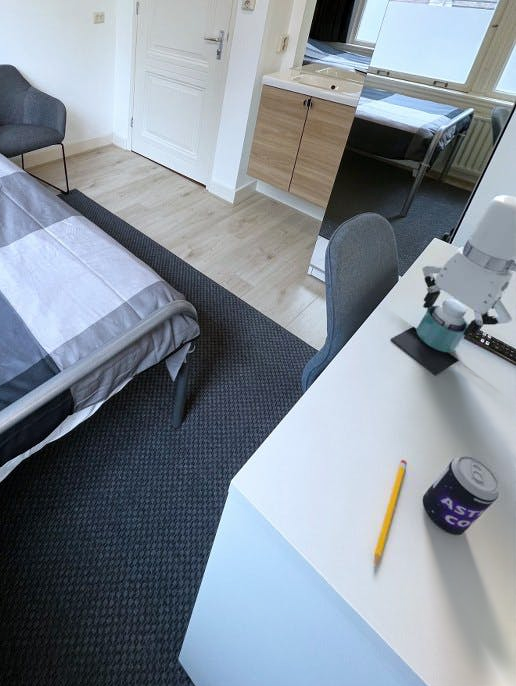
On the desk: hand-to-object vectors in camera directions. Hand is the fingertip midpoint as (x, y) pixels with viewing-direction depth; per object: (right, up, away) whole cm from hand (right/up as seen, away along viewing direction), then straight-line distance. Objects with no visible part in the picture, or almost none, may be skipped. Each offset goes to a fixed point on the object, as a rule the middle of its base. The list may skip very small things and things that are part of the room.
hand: (447, 318), depth 91 cm
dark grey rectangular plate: (-1, -8, +4) cm, 9 cm away
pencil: (-29, -21, -26) cm, 44 cm away
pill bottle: (-1, -5, +3) cm, 6 cm away
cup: (-1, -5, +3) cm, 6 cm away
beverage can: (-21, -22, -26) cm, 40 cm away
